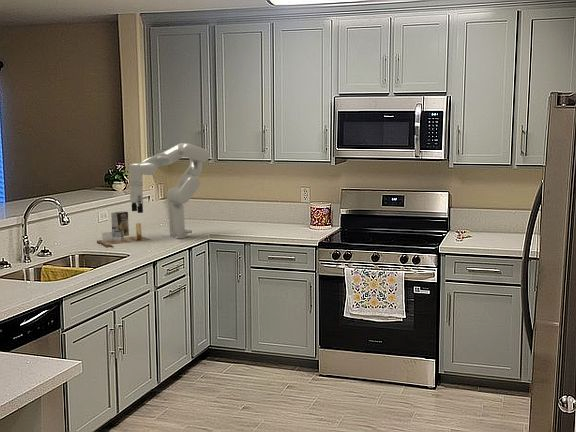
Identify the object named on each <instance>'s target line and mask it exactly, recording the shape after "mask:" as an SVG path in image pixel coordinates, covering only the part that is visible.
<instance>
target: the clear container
mask: <svg viewBox="0 0 576 432" xmlns="http://www.w3.org/2000/svg"><path fill="white" fill-rule="evenodd" d="M124 237H125V236H124V231H122V230H114V229H112V228H111V231H107V232H102V233H101V240H102V241H103V243H106V242H122V241H124Z"/></svg>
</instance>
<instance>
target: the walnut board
mask: <svg viewBox="0 0 576 432" xmlns="http://www.w3.org/2000/svg"><path fill="white" fill-rule="evenodd" d="M145 241H152V238H151V239H150V238H147V237H145V236H142V240H137V235H134V236H128V237H127V236H124V241H122V242H106V243H103V241H102V239H99V240H96V244H98V245H100V244H101V246H102V245H103V246H102V247H104V248H114V246H115V245H118V244H127V243H128V244H129V243H138V242H145Z"/></svg>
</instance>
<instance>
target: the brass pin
mask: <svg viewBox="0 0 576 432" xmlns="http://www.w3.org/2000/svg"><path fill="white" fill-rule="evenodd" d="M135 230H136V231H135V232H136V233H135V234H136V236H137V240H142V237H143V235H142V234H143V233H142V223H140V222H137V223H135Z"/></svg>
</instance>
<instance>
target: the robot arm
mask: <svg viewBox="0 0 576 432" xmlns="http://www.w3.org/2000/svg"><path fill="white" fill-rule="evenodd" d="M182 158H189V166H188V167H187V169H186V170H185V171H184V173H183V174H182V175H181V176H180V178H179V179H178V186H179V187H178V186H177V187H176V186H175V187H173V186H172V187H171V188H169V189H168V190H167V193H166V201H167V204H168V205H167V207H168V220H169V221H168V224H169V234H168V235H167V236H168V237H170V238H174V239H186V238H188V234H192V233H193V230H192V229H185V226H186V223H185V207H184V204H186V203H188V202H189V201H190V199H191V198H192V197H193V196H194V194H195V193H196V192H197V191H198V189H199V187H200V183H201V182H200V178H199V176H200V175H201V174H202V171H203V163H206V162H207V161H209V159H210V153H209V151H208V150H207V149H205V148H202V147H199V146H196V145H195V144H191V143H187V142H186V143H185V142H180V143H178V144H176V145H174V146H172V147H170V148H168V149H166V150H164V151H163V152H160V153H158V154H155V155H153V156H150V157H147V158H146V159H145V160H142V161H141V162H139V163H138V162H137V163H135V162H133V163H130V164H129V168H128V169H129V187H130V189H129V201H130V203H131V211H132V212H137V214H141V213H144V208H143V207H144V197H143V196H144V195H143V186H144V184H143V182H144V181H143V176H151V175H154V174H155V173H156V171H157V168H159V167H165V166H168V165H171V164H173V163H175V162H176V161H178V160H180V159H182Z"/></svg>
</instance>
